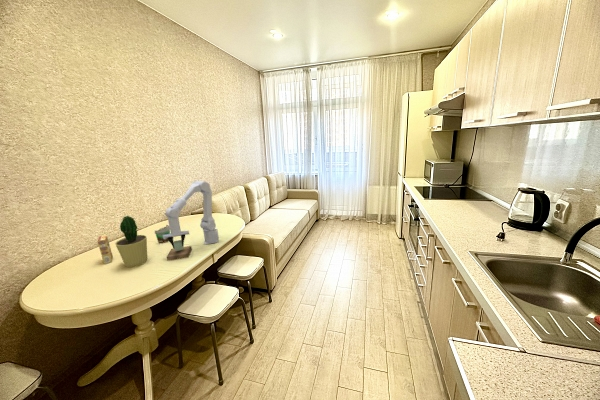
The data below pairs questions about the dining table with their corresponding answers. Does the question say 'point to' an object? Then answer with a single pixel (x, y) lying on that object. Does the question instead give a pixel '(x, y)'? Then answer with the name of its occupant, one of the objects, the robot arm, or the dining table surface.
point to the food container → (162, 232)
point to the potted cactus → (132, 244)
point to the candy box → (105, 249)
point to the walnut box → (179, 253)
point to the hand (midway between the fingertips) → (178, 246)
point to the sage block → (178, 245)
